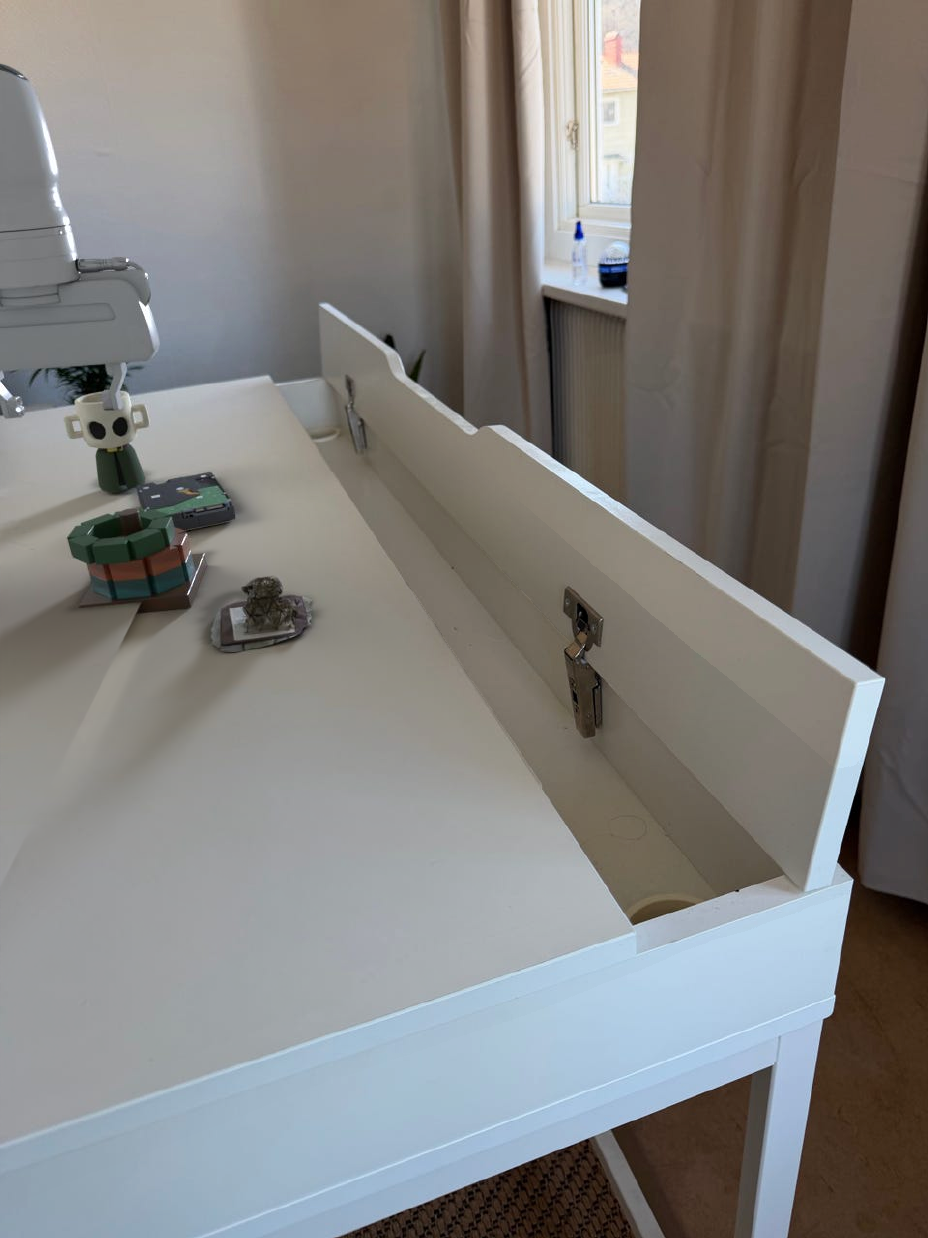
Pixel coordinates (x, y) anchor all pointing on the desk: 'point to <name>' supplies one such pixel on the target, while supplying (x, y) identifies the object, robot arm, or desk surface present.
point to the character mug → (110, 439)
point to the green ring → (120, 538)
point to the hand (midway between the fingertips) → (64, 413)
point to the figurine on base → (260, 617)
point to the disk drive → (189, 500)
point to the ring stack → (148, 574)
